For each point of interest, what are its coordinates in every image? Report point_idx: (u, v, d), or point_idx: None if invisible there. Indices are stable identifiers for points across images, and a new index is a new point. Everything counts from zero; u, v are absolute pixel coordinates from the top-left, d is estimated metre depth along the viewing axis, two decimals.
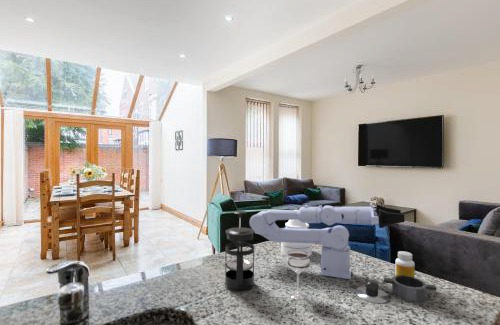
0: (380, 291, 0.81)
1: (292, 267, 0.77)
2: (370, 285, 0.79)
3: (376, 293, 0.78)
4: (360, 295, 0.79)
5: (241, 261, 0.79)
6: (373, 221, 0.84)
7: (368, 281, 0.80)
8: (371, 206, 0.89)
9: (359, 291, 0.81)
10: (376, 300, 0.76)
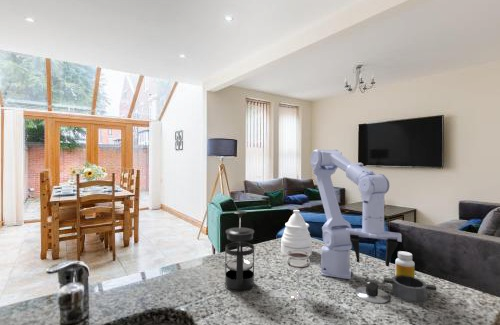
0: (380, 291, 0.81)
1: (292, 267, 0.77)
2: (370, 285, 0.79)
3: (376, 293, 0.78)
4: (360, 295, 0.79)
5: (241, 261, 0.79)
6: (346, 230, 0.83)
7: (368, 281, 0.80)
8: (369, 234, 0.77)
9: (359, 291, 0.81)
10: (376, 300, 0.76)
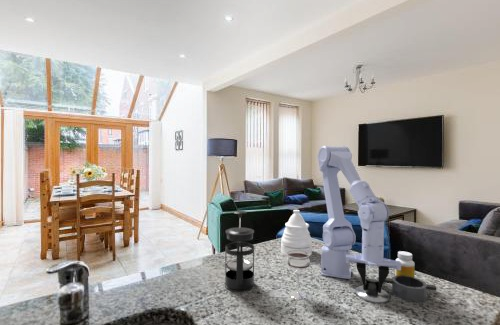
0: None
1: (292, 267, 0.77)
2: (370, 284, 0.79)
3: (376, 292, 0.79)
4: (361, 294, 0.79)
5: (241, 261, 0.79)
6: (346, 256, 0.83)
7: (368, 280, 0.80)
8: (368, 263, 0.77)
9: (359, 290, 0.81)
10: (377, 299, 0.76)
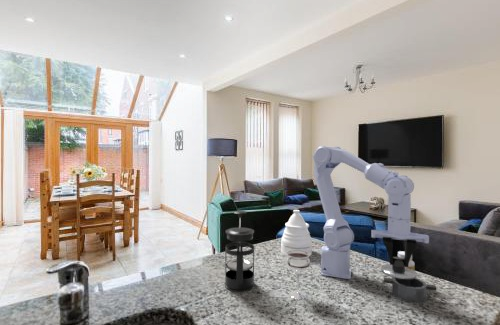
0: (406, 268, 0.81)
1: (292, 267, 0.77)
2: (397, 261, 0.78)
3: (403, 269, 0.78)
4: (387, 271, 0.78)
5: (241, 261, 0.79)
6: (371, 231, 0.83)
7: (394, 258, 0.80)
8: (395, 236, 0.77)
9: (385, 268, 0.81)
10: (404, 275, 0.76)
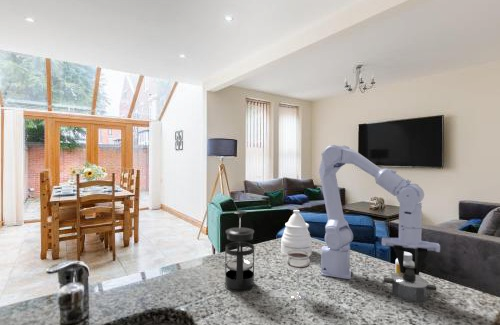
0: (417, 277, 0.81)
1: (292, 267, 0.77)
2: (408, 270, 0.78)
3: (414, 278, 0.78)
4: (398, 280, 0.79)
5: (241, 261, 0.79)
6: None
7: (405, 266, 0.80)
8: (407, 245, 0.77)
9: (396, 277, 0.81)
10: (415, 284, 0.76)
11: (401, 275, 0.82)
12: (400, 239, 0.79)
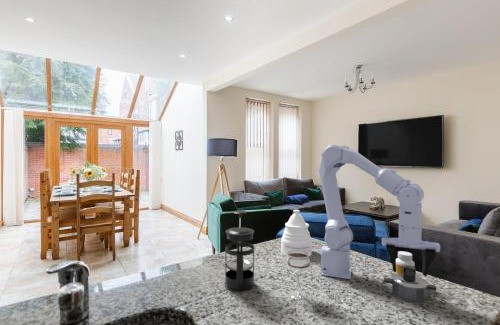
0: (417, 277, 0.81)
1: (292, 267, 0.77)
2: (408, 270, 0.78)
3: (414, 278, 0.78)
4: (398, 280, 0.79)
5: (241, 261, 0.79)
6: None
7: (405, 267, 0.80)
8: (407, 245, 0.77)
9: (396, 277, 0.81)
10: (415, 285, 0.76)
11: (401, 275, 0.82)
12: (400, 239, 0.79)
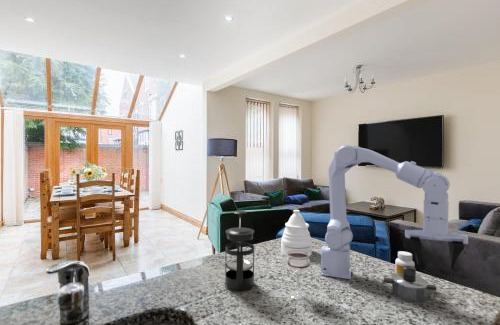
0: (417, 277, 0.81)
1: (292, 267, 0.77)
2: (408, 270, 0.78)
3: (414, 278, 0.78)
4: (398, 280, 0.79)
5: (241, 261, 0.79)
6: (405, 231, 0.79)
7: (405, 267, 0.80)
8: (433, 236, 0.74)
9: (396, 277, 0.81)
10: (415, 285, 0.76)
11: (401, 275, 0.82)
12: (425, 231, 0.76)
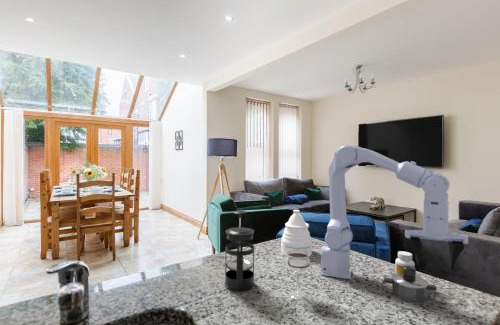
0: (417, 277, 0.81)
1: (292, 267, 0.77)
2: (408, 270, 0.78)
3: (414, 278, 0.78)
4: (398, 280, 0.79)
5: (241, 261, 0.79)
6: (405, 231, 0.79)
7: (405, 267, 0.80)
8: (433, 236, 0.74)
9: (396, 277, 0.81)
10: (415, 285, 0.76)
11: (401, 275, 0.82)
12: (425, 231, 0.76)
